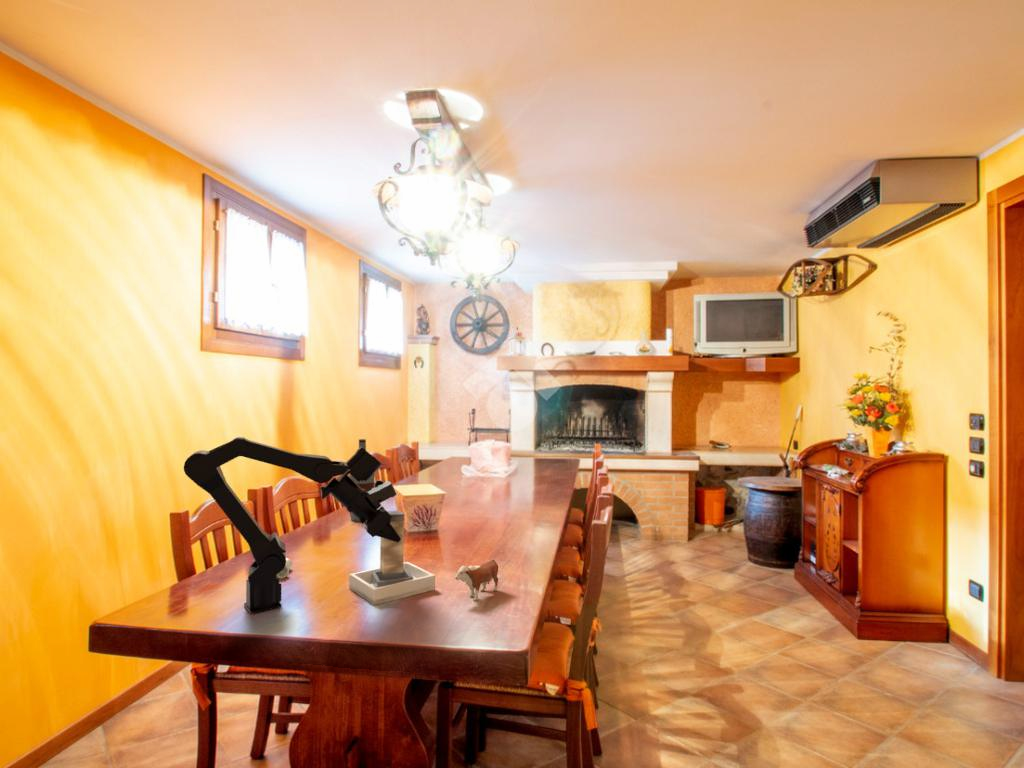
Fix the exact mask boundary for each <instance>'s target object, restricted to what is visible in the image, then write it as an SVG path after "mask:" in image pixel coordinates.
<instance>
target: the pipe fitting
mask: <svg viewBox="0 0 1024 768" xmlns="http://www.w3.org/2000/svg"><path fill="white" fill-rule="evenodd" d="M292 567H293V561H292V560H291V559H290V558H287V557H286V564H285V567H284V569H283V570H282V571H281V572H280V573H278V574H277V576H278V577H279V580H280V579H285V578H287V576H288V575H290V570H291V569H292Z"/></svg>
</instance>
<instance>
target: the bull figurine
mask: <svg viewBox="0 0 1024 768" xmlns="http://www.w3.org/2000/svg"><path fill="white" fill-rule="evenodd" d="M498 572H499V565H498V563H497V562H496V560H494V559H491V560H489V561H487V562H483V563H481V564H479V565H469V566H468V567H467V566H466V565H462V566H461V567H460V568H459V569H458V571H457V573H456V575H454V580H456V581H459V580H460V581H461V582H463V583H464V582H465V584H466V585H467V586H468V588H469V589H470V592H471V593H470V595H469V598H473V597H474V598H473V601H474V602H478V600H479V593H480V592H484V591H485V590H487V589H486V588H487V584H488V585H489V584H490V582H492V581H493V582H494V588H493V592H497V591H498V590H499V587H498V584H499V577H498ZM481 585H482V587H481ZM474 589H475V590H474Z"/></svg>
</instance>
